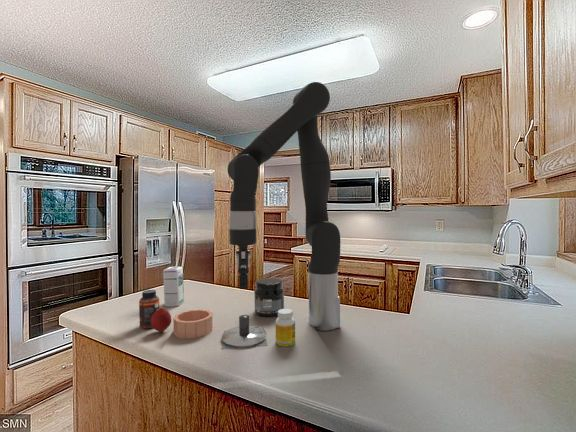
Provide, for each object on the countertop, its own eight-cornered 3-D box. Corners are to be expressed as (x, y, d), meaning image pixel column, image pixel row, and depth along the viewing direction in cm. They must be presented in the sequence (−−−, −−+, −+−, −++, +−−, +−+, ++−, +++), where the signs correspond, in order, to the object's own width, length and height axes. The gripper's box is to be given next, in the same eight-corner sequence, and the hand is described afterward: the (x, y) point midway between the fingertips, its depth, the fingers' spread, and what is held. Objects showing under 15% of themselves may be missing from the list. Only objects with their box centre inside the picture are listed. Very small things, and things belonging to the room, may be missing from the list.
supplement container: (274, 307, 115) (274, 276, 114) (290, 316, 106) (289, 281, 105) (249, 313, 109) (248, 280, 108) (263, 322, 100) (263, 286, 100)
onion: (165, 326, 97) (165, 302, 97) (175, 331, 94) (174, 305, 93) (147, 332, 93) (146, 306, 92) (157, 337, 89) (156, 310, 89)
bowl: (214, 325, 98) (213, 308, 98) (210, 339, 87) (210, 320, 87) (178, 327, 96) (178, 310, 96) (170, 343, 85) (170, 323, 85)
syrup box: (179, 306, 118) (178, 269, 117) (163, 306, 118) (162, 269, 117) (184, 301, 123) (183, 266, 123) (169, 302, 123) (168, 266, 123)
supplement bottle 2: (276, 341, 86) (275, 307, 85) (295, 341, 86) (294, 307, 85) (275, 350, 80) (274, 314, 80) (295, 350, 80) (295, 314, 80)
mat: (264, 331, 93) (264, 327, 93) (267, 349, 81) (267, 345, 81) (224, 334, 91) (223, 330, 91) (221, 352, 79) (221, 349, 79)
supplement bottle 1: (163, 325, 98) (162, 290, 98) (144, 331, 94) (143, 294, 94) (155, 321, 102) (154, 287, 102) (136, 326, 98) (135, 291, 98)
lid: (264, 327, 93) (264, 308, 93) (268, 345, 81) (267, 323, 81) (223, 330, 91) (222, 310, 91) (220, 349, 79) (220, 326, 79)
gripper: (257, 228, 79) (258, 291, 79) (255, 225, 93) (255, 278, 93) (228, 229, 78) (228, 292, 78) (230, 226, 92) (230, 279, 92)
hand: (243, 284), depth 86 cm, fingers open, 8 cm apart
